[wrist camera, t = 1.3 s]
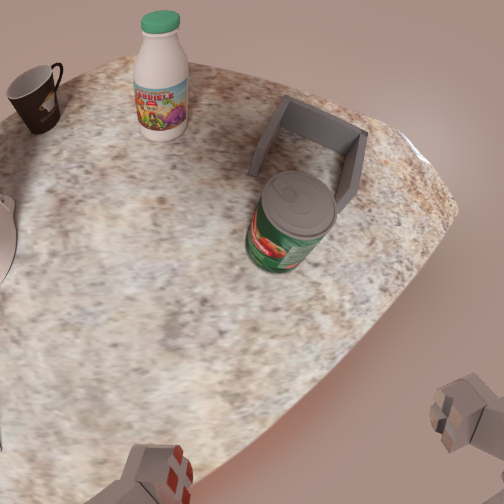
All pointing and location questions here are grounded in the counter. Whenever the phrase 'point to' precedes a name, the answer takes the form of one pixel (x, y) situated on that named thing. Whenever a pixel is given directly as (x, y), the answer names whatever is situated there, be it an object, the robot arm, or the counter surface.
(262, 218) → the canned tomato
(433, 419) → the robot arm
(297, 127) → the box
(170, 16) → the milk bottle
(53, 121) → the coffee mug
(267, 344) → the counter surface
